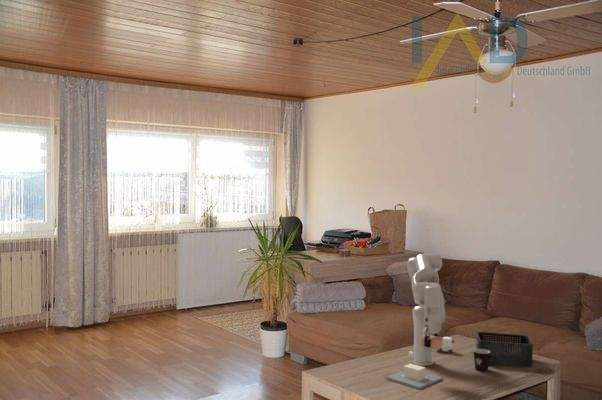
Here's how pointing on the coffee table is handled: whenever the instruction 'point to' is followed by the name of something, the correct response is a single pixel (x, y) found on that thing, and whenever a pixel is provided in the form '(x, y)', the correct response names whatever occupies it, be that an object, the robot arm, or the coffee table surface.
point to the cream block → (414, 371)
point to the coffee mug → (482, 359)
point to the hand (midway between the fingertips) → (431, 345)
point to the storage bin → (501, 352)
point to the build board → (414, 380)
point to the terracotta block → (433, 342)
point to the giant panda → (447, 344)
